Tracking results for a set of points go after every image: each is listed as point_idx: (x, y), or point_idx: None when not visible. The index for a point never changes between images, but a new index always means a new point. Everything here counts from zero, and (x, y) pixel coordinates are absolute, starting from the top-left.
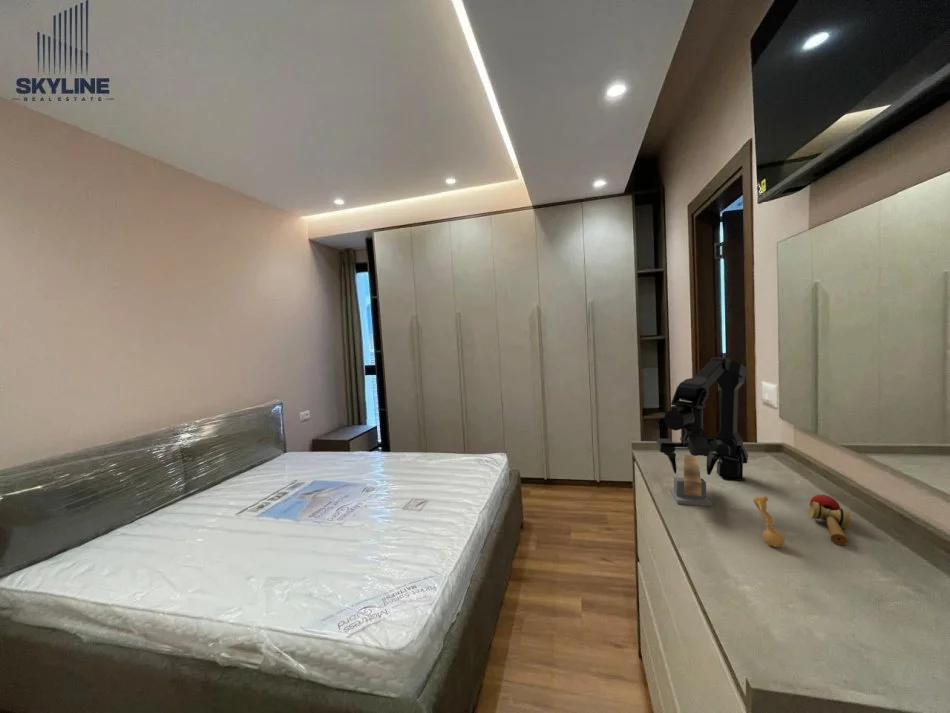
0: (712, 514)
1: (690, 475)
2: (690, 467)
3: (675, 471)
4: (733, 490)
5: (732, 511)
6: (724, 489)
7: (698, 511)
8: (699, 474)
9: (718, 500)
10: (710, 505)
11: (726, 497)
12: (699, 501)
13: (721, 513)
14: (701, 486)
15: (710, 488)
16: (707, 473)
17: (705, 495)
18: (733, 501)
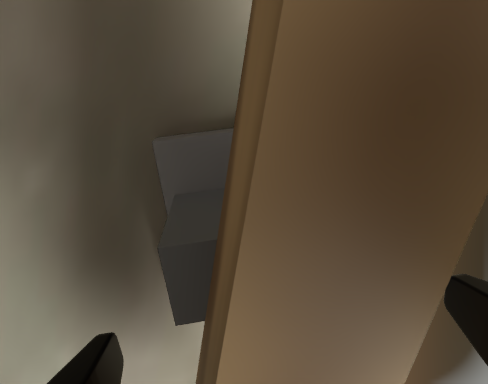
0: (165, 13)
1: (462, 20)
2: (332, 375)
3: (479, 283)
4: (14, 366)
5: (36, 96)
6: (59, 363)
7: (244, 38)
8: (274, 123)
9: (104, 227)
10: (159, 138)
11: (56, 276)
12: (223, 133)
13: (107, 45)
14: (199, 224)
15: (128, 354)
16: (119, 356)
17: (175, 201)
18: (21, 238)
